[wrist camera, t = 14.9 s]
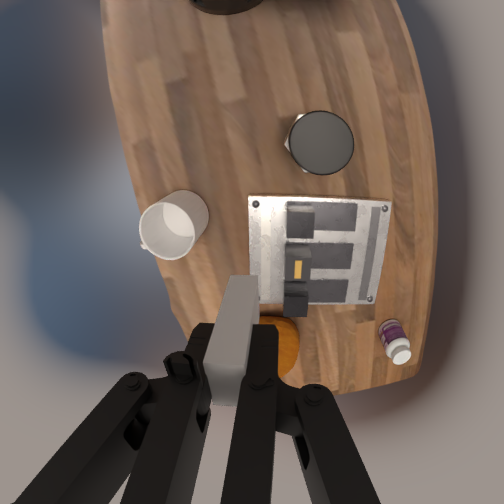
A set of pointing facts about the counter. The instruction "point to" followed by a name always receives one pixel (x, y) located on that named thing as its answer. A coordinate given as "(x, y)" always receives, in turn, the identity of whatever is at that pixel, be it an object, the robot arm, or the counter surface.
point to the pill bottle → (395, 341)
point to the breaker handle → (297, 263)
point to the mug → (173, 224)
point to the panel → (318, 248)
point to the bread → (284, 342)
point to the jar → (320, 142)
